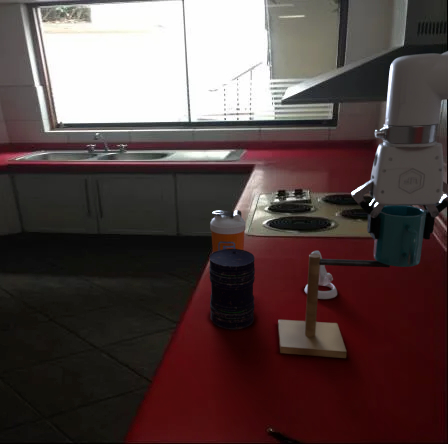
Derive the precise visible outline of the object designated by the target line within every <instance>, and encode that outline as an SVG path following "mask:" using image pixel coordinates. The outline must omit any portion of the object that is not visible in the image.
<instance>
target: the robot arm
mask: <svg viewBox="0 0 448 444" xmlns="http://www.w3.org/2000/svg"><path fill="white" fill-rule="evenodd" d="M389 67H390V68H389V75H388V83H387V85H388V86H387V97H386V107H385V108H386V109H385V120H384V124H383V127H382V128H380V129H375V130H374V139H381V140H382V142H380V143H379V144H378V146H377V149H376V152H375V156H374V160H373V164H372V169H371V174H370V179H369V180H368V181H366V182H365V183H364V184H362V185H360V186H359V187H357V188H356V189H355V190H353V191H351V193H350V195H351V197H352V198H353V199H354V200H355V202H356V203H357V204H358V206H359V207H360V208H361V209H362V210H363V211H364V212H365V213H367V225H366V231H367V233H368V234H369V235H370V237H371V238H372V239H373V240H375V239H379V231H380V221H381V219H380V218H379V217H378V215H379V213H380V211H381V210H382V209H383V207H384V206H387V205H388V206H398V205H407V206H421V207H422V209H423V210H425V211H426V219H425V227H424V235H423V240H430V239H431V234H433V233H434V229H435V220H436V218H437V217H439V216H440V213H441V212H442V211H444V210H445V209H447V208H448V183H446V182H445V181H444V177H445V175H444V173H445V172H444V171H445V167H444V166H445V165H444V162H445V161H444V149H443V144H442V143H441V142H438V141H437V139H438V131H439V123H440V116H441V108H442V101H443V100H448V50H447V51H445V52H443V53H435V52H433V53H419V54H418V53H417V54H410V55H409V54H408V55H402V56H399V57H397V58H395V59H394V60H393V61H392V62H391V64H390V66H389ZM368 193H369V196H370V198H371V199H372V200H371V202H370V203H368V202H367V201H366V199H365V198H364V196H365V195H367V194H368Z"/></svg>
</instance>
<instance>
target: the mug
mask: <svg viewBox="0 0 448 444" xmlns="http://www.w3.org/2000/svg"><path fill="white" fill-rule="evenodd" d="M378 217H379V218H380V219H381V221H380V231H379V239H374V243H373V259H374V261H378V262H380V263H383V264H386V265H390V267H397V268H398V267H399V268H409V267H415V266H418V265H419V264H420V263H421V259H422V258H421V257H422V250H423V243H424V238H423V235H424V227H425V219H426V211H425V210H424V208H421V207H418V206H414V205H398V206H388V205H385V206H384V207H383V209H382V210H381V211H380V213H379V215H378Z"/></svg>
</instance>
